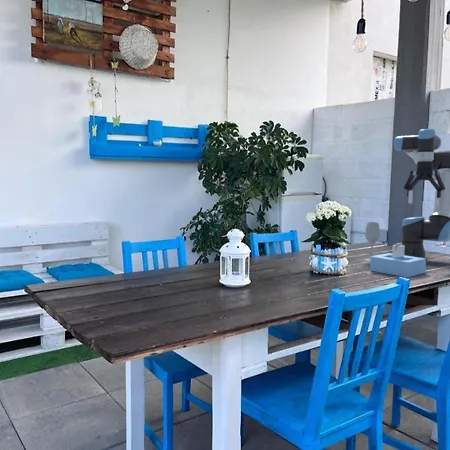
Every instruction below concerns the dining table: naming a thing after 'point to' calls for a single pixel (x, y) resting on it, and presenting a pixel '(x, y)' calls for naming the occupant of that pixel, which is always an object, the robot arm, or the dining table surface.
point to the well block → (398, 265)
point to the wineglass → (372, 234)
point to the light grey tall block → (398, 251)
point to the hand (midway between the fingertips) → (423, 204)
